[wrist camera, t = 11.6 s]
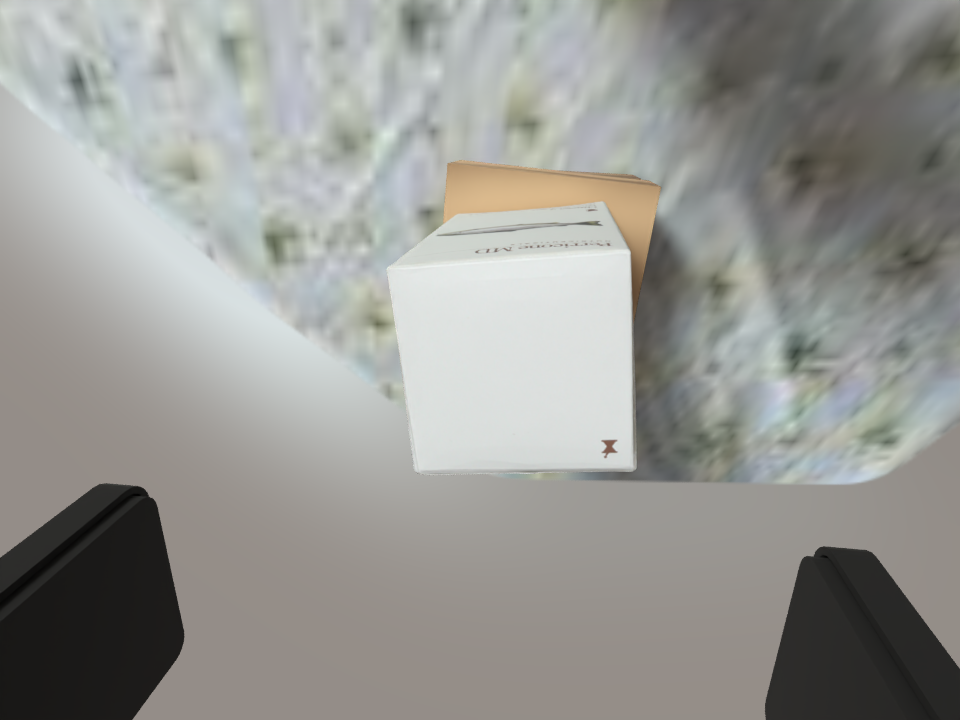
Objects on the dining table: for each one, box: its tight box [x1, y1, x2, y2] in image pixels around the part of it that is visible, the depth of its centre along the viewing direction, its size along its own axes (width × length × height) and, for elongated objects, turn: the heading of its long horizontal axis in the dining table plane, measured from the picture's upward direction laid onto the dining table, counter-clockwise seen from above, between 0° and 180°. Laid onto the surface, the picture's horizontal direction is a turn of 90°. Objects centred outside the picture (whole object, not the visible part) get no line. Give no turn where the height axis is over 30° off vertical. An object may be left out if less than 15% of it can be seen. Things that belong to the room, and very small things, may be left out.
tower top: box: [443, 160, 661, 324], centre depth 31 cm, size 10×10×4 cm
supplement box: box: [386, 201, 637, 475], centre depth 24 cm, size 7×7×13 cm
